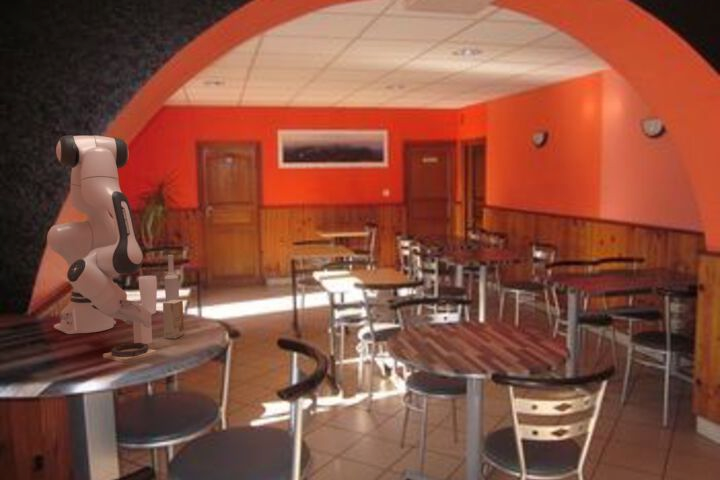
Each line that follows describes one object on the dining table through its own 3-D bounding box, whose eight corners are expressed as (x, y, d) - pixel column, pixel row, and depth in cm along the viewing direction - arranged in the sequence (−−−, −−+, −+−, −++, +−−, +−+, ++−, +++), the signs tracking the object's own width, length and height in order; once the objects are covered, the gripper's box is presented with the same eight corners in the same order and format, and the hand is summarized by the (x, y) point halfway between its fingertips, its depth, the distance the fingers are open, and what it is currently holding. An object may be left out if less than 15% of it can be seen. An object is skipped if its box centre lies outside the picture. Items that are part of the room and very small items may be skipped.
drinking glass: (137, 315, 237) (135, 278, 235) (145, 311, 244) (144, 275, 242) (152, 315, 236) (151, 278, 234) (161, 312, 242) (159, 275, 241)
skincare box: (175, 339, 200) (173, 303, 199) (163, 338, 201) (161, 303, 200) (184, 334, 207) (183, 299, 205) (173, 333, 207) (171, 299, 206)
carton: (134, 343, 195) (132, 316, 194) (144, 341, 199) (143, 314, 198) (141, 345, 193) (140, 318, 192) (152, 342, 196) (150, 315, 195)
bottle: (163, 320, 228) (160, 255, 225) (176, 317, 232) (173, 254, 229) (170, 322, 224) (167, 256, 222) (183, 319, 228) (180, 255, 226)
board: (103, 357, 180) (102, 349, 180) (134, 348, 190) (134, 340, 189) (125, 362, 174) (125, 354, 174) (157, 353, 184) (156, 345, 183)
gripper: (138, 294, 181) (166, 319, 190) (98, 288, 193) (126, 312, 202) (126, 311, 178) (155, 336, 187) (86, 304, 189) (115, 328, 198)
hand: (140, 324), depth 194 cm, fingers open, 8 cm apart
